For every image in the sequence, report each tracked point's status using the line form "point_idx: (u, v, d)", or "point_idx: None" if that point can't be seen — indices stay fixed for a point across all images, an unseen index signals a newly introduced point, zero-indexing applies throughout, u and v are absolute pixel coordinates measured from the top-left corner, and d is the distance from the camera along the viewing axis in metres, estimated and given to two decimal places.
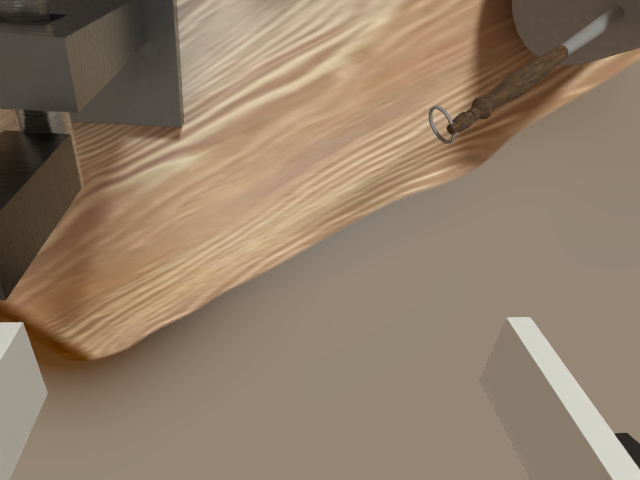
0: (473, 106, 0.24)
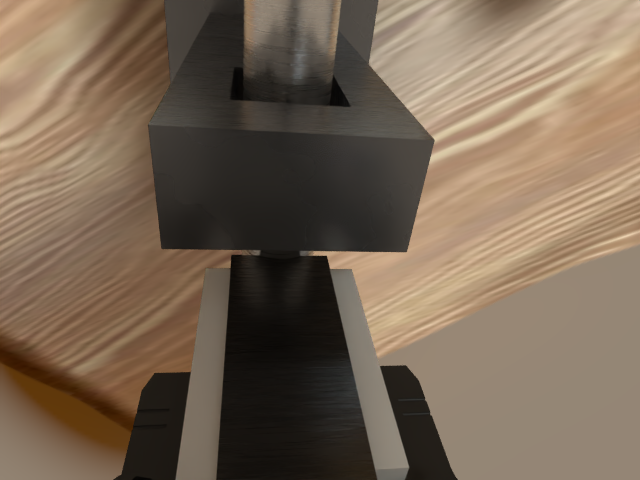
0: None
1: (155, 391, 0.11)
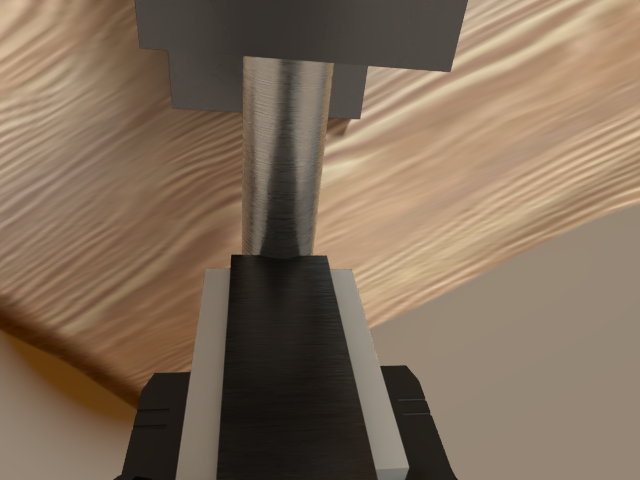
0: None
1: (155, 390, 0.11)
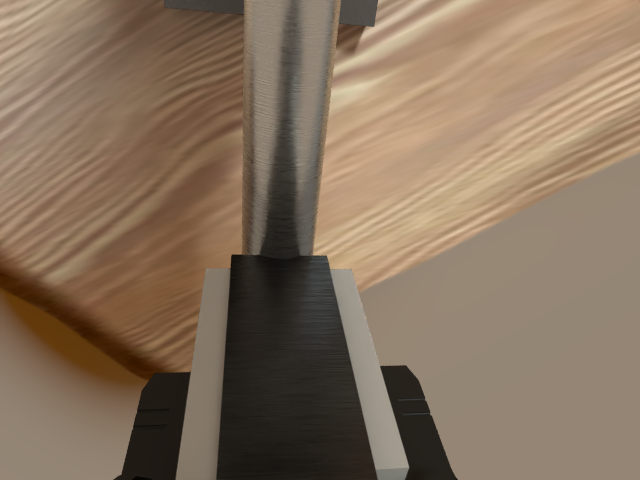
0: None
1: (155, 391, 0.11)
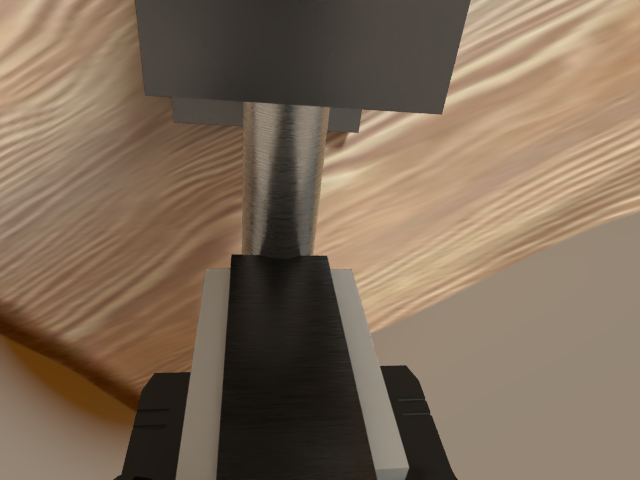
0: None
1: (155, 390, 0.11)
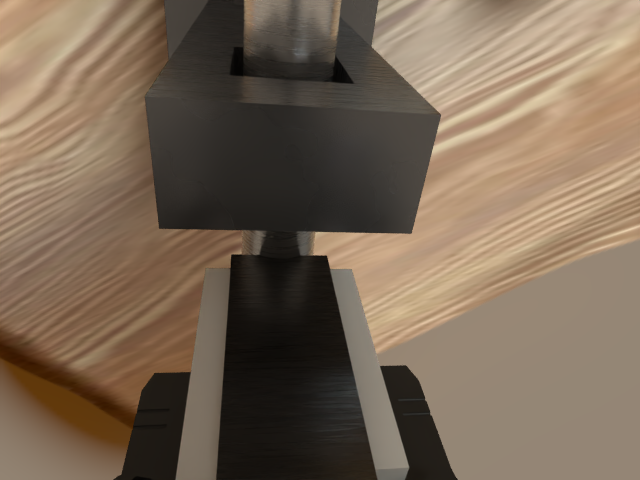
0: None
1: (155, 391, 0.11)
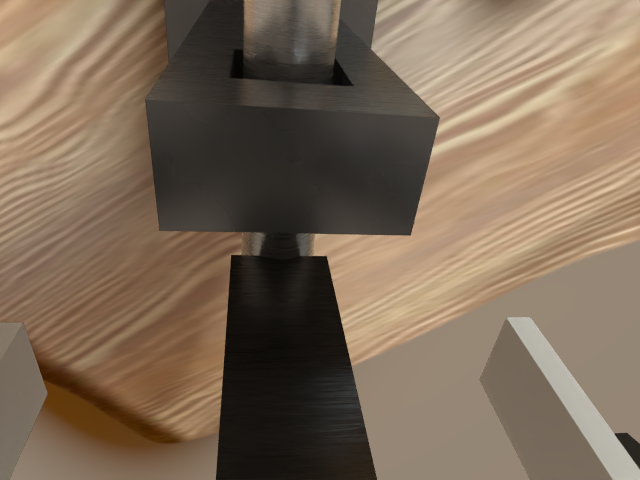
0: None
1: None
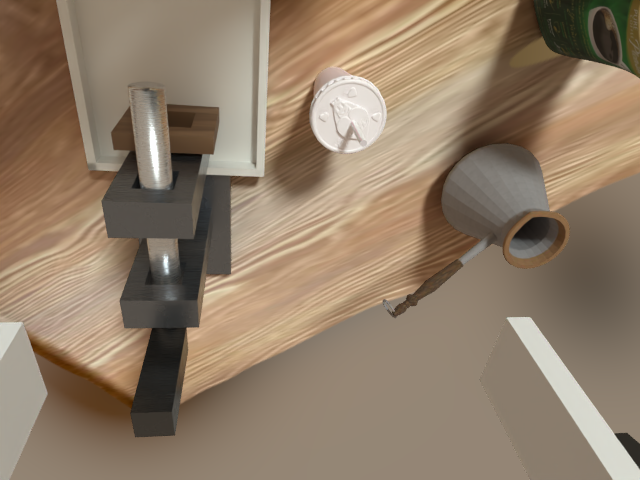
0: (406, 300, 0.44)
1: None
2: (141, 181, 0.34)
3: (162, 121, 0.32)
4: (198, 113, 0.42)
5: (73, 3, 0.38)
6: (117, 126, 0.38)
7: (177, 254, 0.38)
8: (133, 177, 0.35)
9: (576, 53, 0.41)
